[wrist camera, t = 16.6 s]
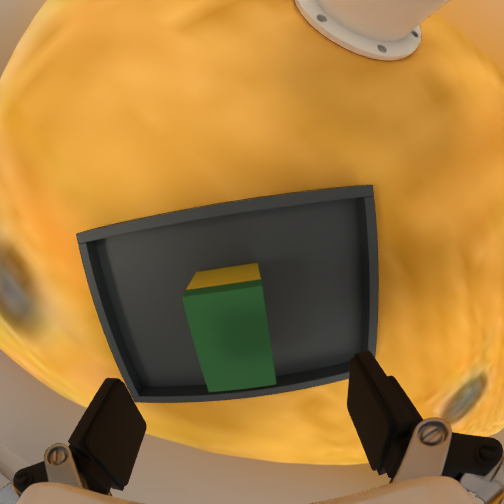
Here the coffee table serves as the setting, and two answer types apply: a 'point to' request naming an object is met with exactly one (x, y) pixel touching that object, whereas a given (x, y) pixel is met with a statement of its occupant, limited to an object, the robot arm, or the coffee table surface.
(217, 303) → the sponge
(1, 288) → the coffee table surface
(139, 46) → the coffee table surface
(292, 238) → the tray
